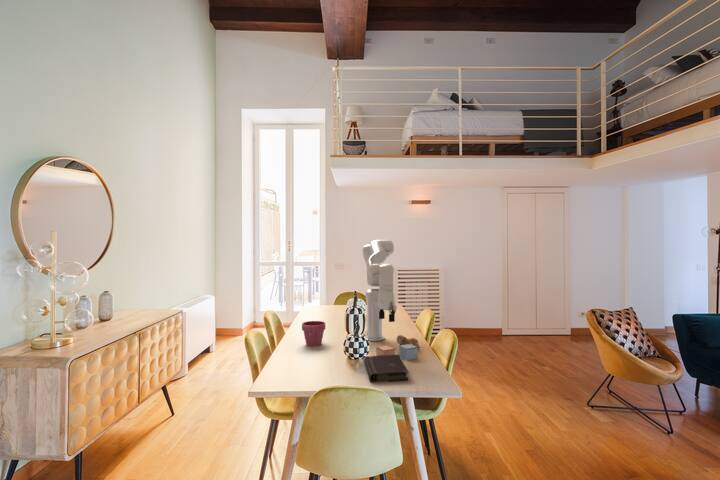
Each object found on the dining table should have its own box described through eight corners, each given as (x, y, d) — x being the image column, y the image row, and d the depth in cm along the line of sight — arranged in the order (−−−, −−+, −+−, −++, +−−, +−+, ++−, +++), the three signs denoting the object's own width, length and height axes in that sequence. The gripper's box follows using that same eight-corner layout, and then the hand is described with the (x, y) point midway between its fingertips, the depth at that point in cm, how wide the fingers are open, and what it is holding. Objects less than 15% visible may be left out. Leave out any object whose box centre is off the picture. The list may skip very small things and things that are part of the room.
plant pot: (310, 339, 245) (310, 319, 245) (329, 342, 239) (329, 321, 238) (297, 345, 232) (297, 324, 232) (317, 348, 226) (317, 326, 226)
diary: (369, 384, 173) (369, 373, 173) (364, 365, 198) (363, 355, 198) (410, 382, 174) (410, 370, 174) (400, 364, 199) (400, 354, 199)
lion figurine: (398, 352, 217) (398, 336, 217) (394, 349, 222) (394, 334, 222) (422, 350, 222) (422, 334, 222) (418, 347, 227) (418, 332, 227)
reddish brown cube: (376, 358, 206) (376, 347, 206) (387, 356, 210) (387, 345, 210) (383, 362, 200) (383, 350, 200) (394, 359, 204) (394, 348, 204)
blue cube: (399, 356, 209) (398, 345, 209) (409, 354, 213) (409, 343, 213) (407, 360, 203) (407, 349, 203) (417, 358, 207) (417, 347, 207)
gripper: (372, 287, 212) (372, 318, 212) (389, 289, 197) (389, 323, 197) (383, 286, 216) (383, 317, 216) (401, 289, 201) (401, 322, 201)
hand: (386, 320), depth 206 cm, fingers open, 9 cm apart
